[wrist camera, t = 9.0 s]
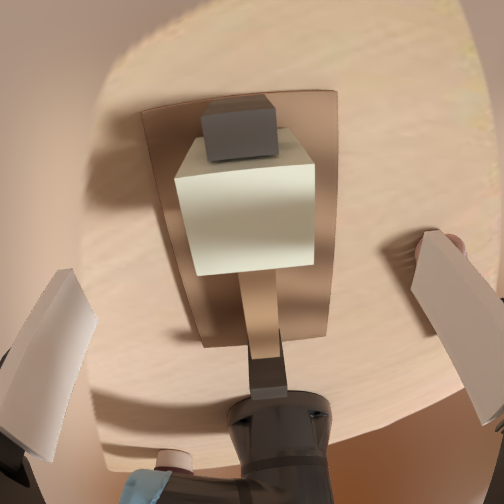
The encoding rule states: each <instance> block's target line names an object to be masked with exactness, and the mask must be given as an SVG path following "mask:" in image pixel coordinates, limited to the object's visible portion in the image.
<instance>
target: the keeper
mask: <svg viewBox="0 0 504 504" xmlns="http://www.w3.org/2000/svg"><path fill="white" fill-rule="evenodd" d="M277 133H278V147H279V154H276V155H264V156H253V157H243V158H234V159H225V160H217V161H209V162H208V161H207V155H206V149H205V142H204V137H198V138H196V139H195V140H194V142H193V144H192V146H191V148H190V149H189V151H188V153H187V155H186V157H185V159H184V161H183V163H182V164H181V166H180V168H179V170H178V172H177V174H176V176H175V178H174V180H175V185H176V189H177V194H178V199H179V203H180V208H181V212H182V216H183V221H184V225H185V229H186V234H187V238H188V242H189V246H190V250H191V254H192V258H193V262H194V266H195V270H196V274H197V276H203V275H214V274H225V273H235V272H246V271H256V270H266V269H276V268H286V267H295V266H305V265H314V238H315V164H314V162H313V161H312V159H311V158H310V156H309V155H308V154H307V152H306V151H305V149H304V148H303V147H302V145H301V144H300V142H299V141H298V140H297V138H296V137H295V136H294V134H293V133H292V132H291V130H290V129H289V128H281V129H277Z"/></svg>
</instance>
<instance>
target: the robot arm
mask: <svg viewBox="0 0 504 504" xmlns="http://www.w3.org/2000/svg"><path fill="white" fill-rule="evenodd" d="M411 291H412V293H413V294H414V296H415V297H416V299H417V301H418V302H419V304H420V306H421V307H422V309H423V311H424V312H425V314H426V316H427V317H428V319H429V321H430V323H431V324H432V326H433V328H434V330H435V331H436V333H437V335H438V337H439V338H440V340H441V342H442V344H443V346H444V348H445V349H446V351H447V353H448V355H449V357H450V359H451V361H452V363H453V365H454V367H455V369H456V370H457V372H458V374H459V376H460V378H461V381H462V383H463V385H464V387H465V389H466V391H467V393H468V395H469V397H470V399H471V402H472V404H473V406H474V408H475V410H476V413H477V415H478V417H479V420H480V422H481V424H482V426H483V425H485V424H487V423H489V422H491V421H493V420H494V419H496V418H498V417H499V416H500V415H501V414H502V413H503V412H504V298H499V296H498V295H497V294H496V293H495V291H494V290H493V289H492V288H491V286H490V285H489V284H488V283H487V281H486V280H485V279H484V278H483V277H482V275H481V274H480V273H479V272H478V271H477V270H476V268H475V267H474V266H473V265H472V264H471V263H470V262H469V260H468V259H467V258H466V257H465V256H464V255H463V254H462V253H461V252H460V250H459V249H458V248H457V247H456V246H455V245H454V244H453V243H452V242H451V241H450V240H449V239H448V238H447V237H446V236H445V235H444V233H443V232H442V231H441V230H435V231H425V232H424V236H423V241H422V245H421V250H420V254H419V258H418V262H417V266H416V270H415V274H414V278H413V282H412V285H411ZM97 323H98V319H97V317H96V315H95V313H94V311H93V310H92V308H91V306H90V304H89V302H88V300H87V298H86V296H85V294H84V292H83V290H82V288H81V286H80V284H79V282H78V280H77V278H76V276H75V274H74V271H73V269H64V270H57V272H56V273H55V275H54V276H53V278H52V279H51V281H50V282H49V284H48V285H47V287H46V288H45V290H44V291H43V293H42V295H41V296H40V298H39V300H38V301H37V303H36V304H35V306H34V308H33V310H32V311H31V313H30V315H29V316H28V318H27V320H26V321H25V323H24V325H23V327H22V329H21V330H20V332H19V334H18V336H17V338H16V339H15V341H14V343H13V345H12V347H11V348H10V349H9V350H8V351H7V353H6V354H5V355H4V356H3V357H2V359H1V361H0V504H46V503H45V501H44V498H43V496H42V494H41V492H40V489H39V487H38V484H37V482H36V479H35V477H34V474H33V471H32V469H31V466H30V463H29V461H28V459H27V458H26V457H25V456H24V452H25V451H26V452H28V453H29V454H31V455H32V456H34V457H35V458H37V459H40V460H43V461H46V462H50V463H52V462H53V458H54V454H55V450H56V446H57V442H58V438H59V434H60V430H61V427H62V423H63V420H64V417H65V413H66V410H67V406H68V403H69V400H70V397H71V394H72V391H73V388H74V385H75V382H76V378H77V376H78V373H79V370H80V368H81V364H82V362H83V359H84V356H85V354H86V351H87V348H88V346H89V343H90V341H91V338H92V336H93V333H94V330H95V328H96V326H97ZM331 424H332V412H331V407H330V403H329V401H328V400H327V399H326V398H324V397H322V396H320V395H317V394H313V393H308V392H287V397H281V398H271V399H260V400H252V398H249V399H246V400H244V401H241V402H239V403H238V404H236V405H234V406H233V407H232V408H231V409H230V410H229V412H228V415H227V427H228V432H229V434H230V437H231V440H232V442H233V445H234V448H235V450H236V453H237V455H238V458H239V460H240V464H241V479H237V478H219V477H207V476H197V475H188V474H180V473H173V472H172V471H167V472H165V471H157V470H150V469H138V470H135V471H134V472H132V473H131V474H130V476H129V478H128V479H127V481H126V484H125V486H124V489H123V492H122V495H121V498H120V502H119V504H334V499H333V493H332V486H331V480H330V474H329V468H328V462H327V447H328V442H329V436H330V430H331ZM503 426H504V419H503V420H502V421H501V422H500V423H499V424H498V425H497V427H496V429H495V432H498V431H499V430H500V429H501V428H502V427H503ZM501 433H502V434H503V439H502V443H501V448H500V452H499V455H498V459H497V463H496V466H495V470H494V473H493V476H492V480H491V483H490V486H489V489H488V492H487V495H486V497H485V500H484V503H483V504H504V429H503V430H502V431H501Z"/></svg>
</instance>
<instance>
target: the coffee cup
mask: <svg viewBox="0 0 504 504" xmlns="http://www.w3.org/2000/svg"><path fill="white" fill-rule="evenodd" d="M154 470H157V471H165V472H167V471H172V472H173V473H180V474H188V475H194V473H193V468H192V456H191V455H190V454H188V453H186V452H182V451H178V450H160V451H159V452H158V456H157V461H156V467H155V468H154Z"/></svg>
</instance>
